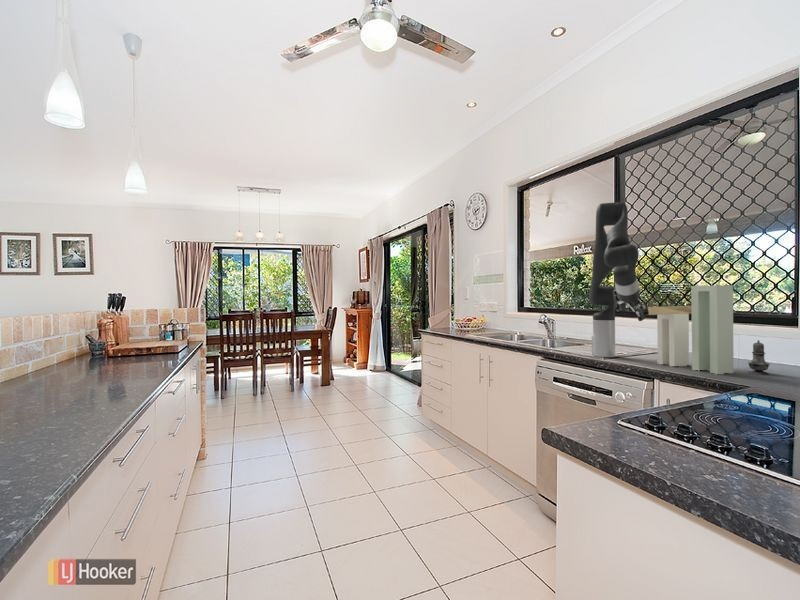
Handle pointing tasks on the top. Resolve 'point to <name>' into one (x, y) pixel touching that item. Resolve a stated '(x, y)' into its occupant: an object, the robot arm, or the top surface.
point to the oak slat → (669, 310)
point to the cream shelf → (673, 339)
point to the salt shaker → (758, 360)
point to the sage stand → (712, 328)
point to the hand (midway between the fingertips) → (632, 314)
